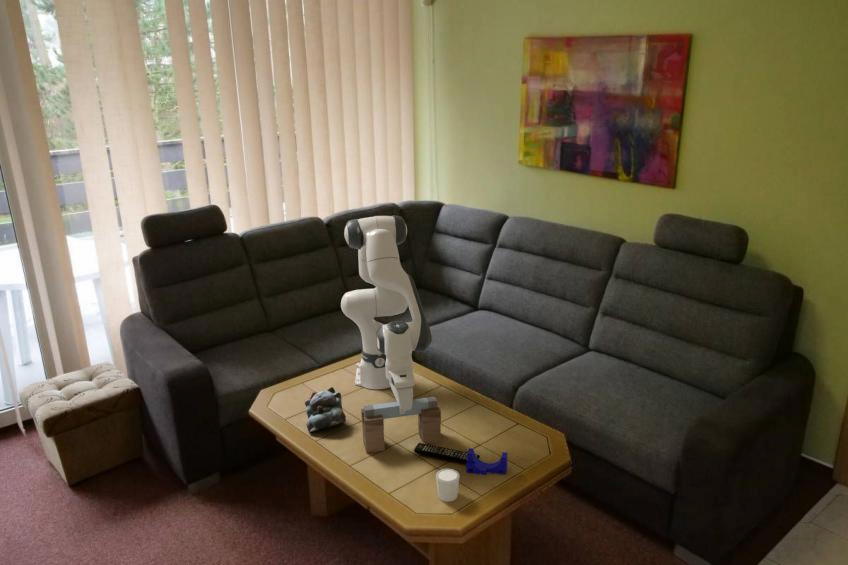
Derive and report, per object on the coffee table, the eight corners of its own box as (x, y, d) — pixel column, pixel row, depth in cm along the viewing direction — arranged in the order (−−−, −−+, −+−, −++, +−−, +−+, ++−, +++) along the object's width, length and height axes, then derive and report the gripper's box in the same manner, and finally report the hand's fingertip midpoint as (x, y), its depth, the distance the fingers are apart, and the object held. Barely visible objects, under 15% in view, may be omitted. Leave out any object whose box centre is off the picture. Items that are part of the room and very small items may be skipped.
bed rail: (364, 417, 212) (363, 406, 211) (435, 407, 218) (434, 396, 216) (365, 421, 210) (364, 410, 208) (437, 411, 215) (437, 400, 214)
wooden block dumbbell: (362, 440, 218) (361, 408, 214) (435, 430, 223) (434, 398, 220) (366, 453, 210) (364, 421, 207) (441, 442, 216) (440, 410, 212)
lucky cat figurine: (300, 434, 222) (293, 394, 225) (316, 430, 234) (310, 392, 236) (339, 427, 218) (332, 385, 221) (354, 423, 230) (347, 384, 232)
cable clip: (466, 473, 200) (466, 456, 198) (468, 464, 204) (468, 448, 202) (505, 477, 197) (505, 460, 195) (507, 469, 201) (507, 452, 199)
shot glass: (431, 493, 190) (431, 473, 188) (451, 485, 193) (450, 465, 191) (444, 506, 184) (444, 485, 182) (464, 497, 188) (464, 476, 186)
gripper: (384, 359, 218) (385, 396, 222) (395, 386, 199) (397, 426, 203) (402, 357, 219) (403, 394, 224) (415, 383, 200) (417, 423, 205)
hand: (400, 409), depth 213 cm, fingers closed on bed rail, 3 cm apart
